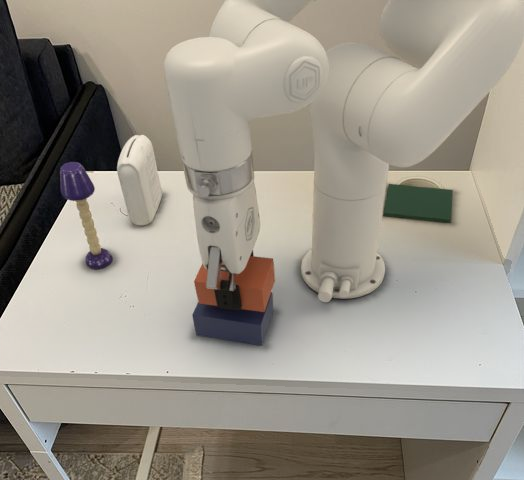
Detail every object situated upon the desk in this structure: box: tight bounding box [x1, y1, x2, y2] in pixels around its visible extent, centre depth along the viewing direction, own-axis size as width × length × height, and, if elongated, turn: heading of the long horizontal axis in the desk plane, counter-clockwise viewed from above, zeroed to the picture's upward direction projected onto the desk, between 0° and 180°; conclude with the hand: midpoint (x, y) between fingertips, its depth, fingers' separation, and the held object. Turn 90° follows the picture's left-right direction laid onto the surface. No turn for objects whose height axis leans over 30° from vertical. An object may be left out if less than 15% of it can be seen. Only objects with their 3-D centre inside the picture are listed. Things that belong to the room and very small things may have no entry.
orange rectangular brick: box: [193, 256, 276, 312], centre depth 71 cm, size 6×9×4 cm, turn 76°
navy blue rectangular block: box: [191, 291, 274, 346], centre depth 75 cm, size 6×10×4 cm
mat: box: [382, 183, 454, 224], centre depth 94 cm, size 9×11×1 cm
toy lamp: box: [59, 161, 114, 270], centre depth 81 cm, size 5×5×17 cm
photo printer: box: [116, 134, 163, 226], centre depth 92 cm, size 10×4×12 cm, turn 175°
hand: (236, 288), depth 73 cm, fingers closed on orange rectangular brick, 6 cm apart
